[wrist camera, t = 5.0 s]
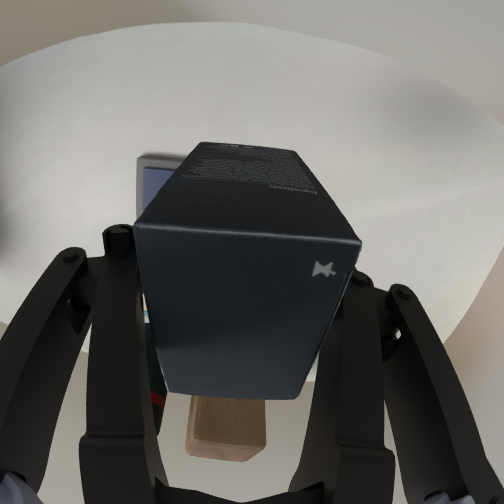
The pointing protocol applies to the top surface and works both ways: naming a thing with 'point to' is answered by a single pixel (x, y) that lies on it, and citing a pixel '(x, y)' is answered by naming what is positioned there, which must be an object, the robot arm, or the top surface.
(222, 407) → the wooden block
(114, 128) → the top surface
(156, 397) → the wine bottle
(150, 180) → the ink pad
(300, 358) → the box
